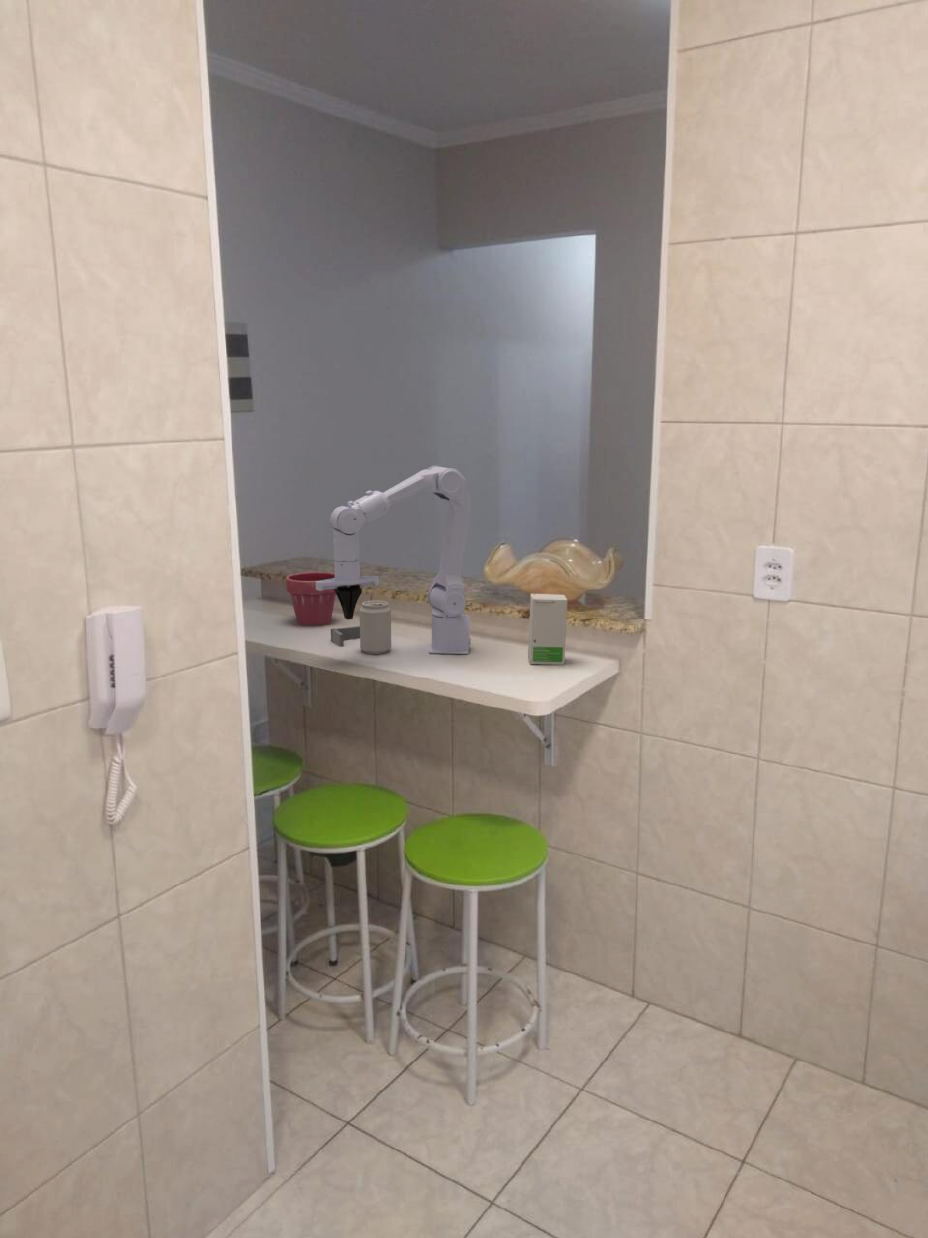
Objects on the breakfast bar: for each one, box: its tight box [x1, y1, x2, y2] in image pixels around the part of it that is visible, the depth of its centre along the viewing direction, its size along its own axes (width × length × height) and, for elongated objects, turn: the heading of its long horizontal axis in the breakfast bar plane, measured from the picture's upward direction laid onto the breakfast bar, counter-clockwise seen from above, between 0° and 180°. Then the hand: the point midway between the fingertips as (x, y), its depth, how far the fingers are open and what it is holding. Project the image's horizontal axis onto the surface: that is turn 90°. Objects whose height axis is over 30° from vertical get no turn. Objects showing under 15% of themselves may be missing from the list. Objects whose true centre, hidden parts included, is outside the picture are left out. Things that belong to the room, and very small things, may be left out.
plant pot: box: [285, 571, 337, 627], centre depth 256 cm, size 14×14×13 cm
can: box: [358, 600, 392, 655], centre depth 228 cm, size 8×8×12 cm
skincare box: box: [527, 593, 569, 666], centre depth 220 cm, size 8×7×16 cm
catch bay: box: [330, 625, 360, 647], centre depth 238 cm, size 6×13×3 cm, turn 117°
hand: (348, 618), depth 218 cm, fingers closed
